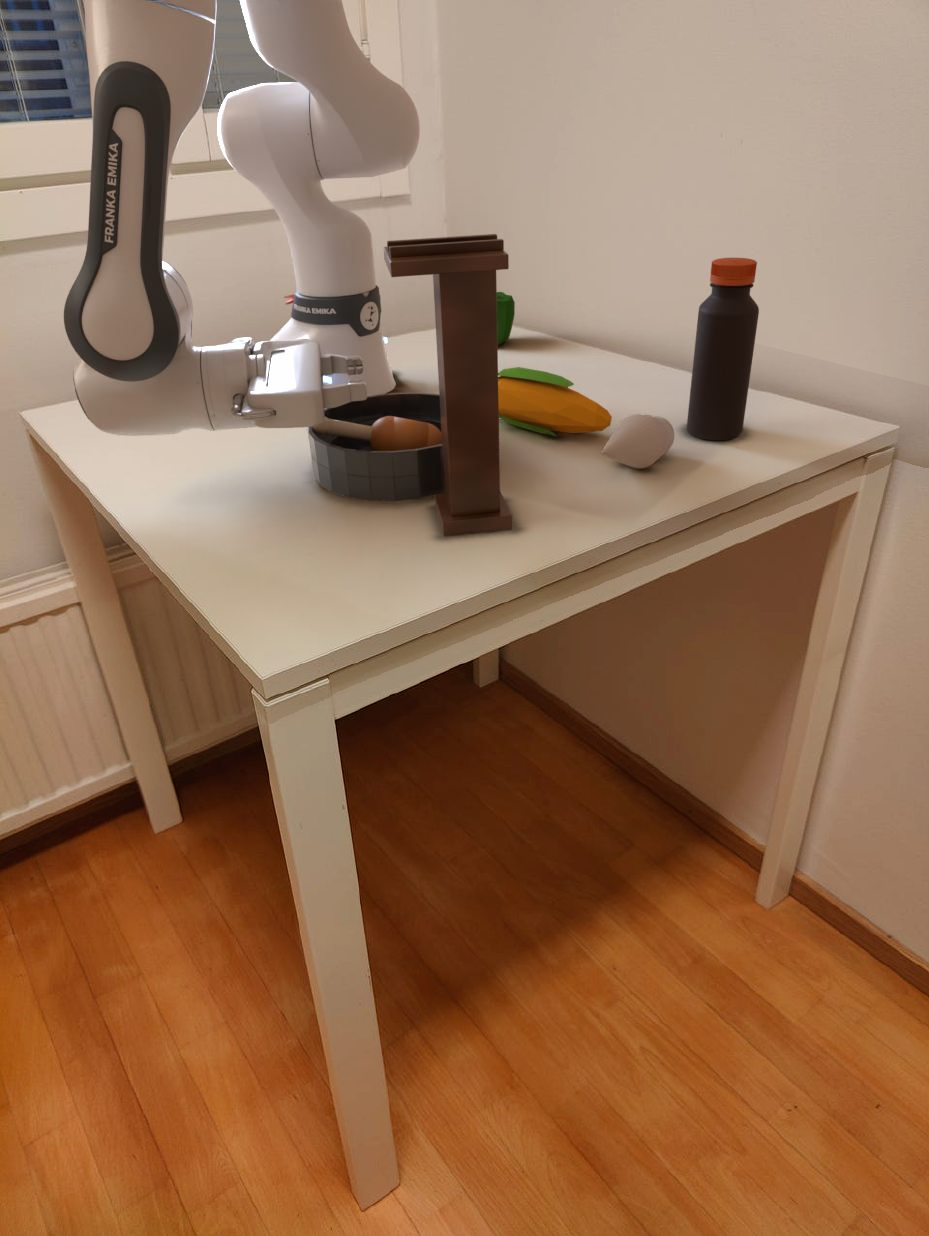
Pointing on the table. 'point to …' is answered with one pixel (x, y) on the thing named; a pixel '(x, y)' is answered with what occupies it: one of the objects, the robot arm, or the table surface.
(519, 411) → the corn
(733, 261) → the bottle
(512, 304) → the bell pepper
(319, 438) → the bowl
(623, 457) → the ice cream cone
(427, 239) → the stand
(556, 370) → the table surface
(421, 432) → the drumstick
